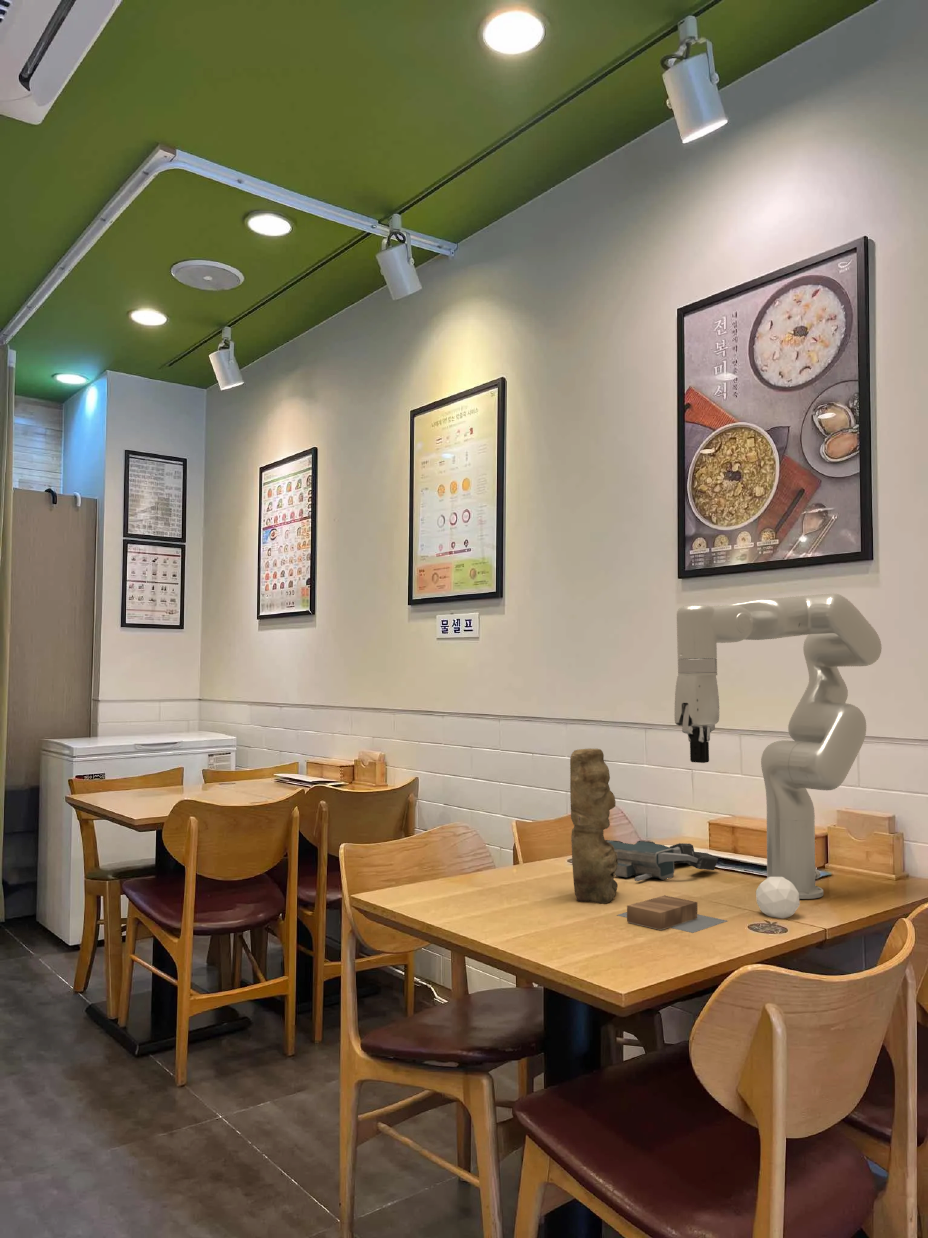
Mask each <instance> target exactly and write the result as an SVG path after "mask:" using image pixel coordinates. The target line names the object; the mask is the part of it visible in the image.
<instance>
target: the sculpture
mask: <svg viewBox="0 0 928 1238" xmlns="http://www.w3.org/2000/svg"><path fill="white" fill-rule="evenodd" d="M604 756H605V755H604V751H603V750H602V749H600V748H580V749H575V750H573V752H572V753H571V754H570V756H569V757H570V760H569V762H570V764H569V765H570V767H569V771H570V772H569V774H570V775H569V777H570V778H569V779H570V780H569V781H570V783H569V784H570V785H569V790H570V792H569V794H570V797H569V798H570V819H571V821H572V824H573V828H572V829H571V835H570V837H571V839H570V841H571V864H572V865H571V866H572V877H573V888H574V895H575V897H576V900H577V901H578V902H583V903H584V902H592V903H593V902H594V903H598V904H604V905H605V904H607V903H608V904H609V903H611V901H612V900H613V899H614V898H615V895H616V893H617V890H618V883H617V881H616V880H614V879H615V877H616V875H615V874H616V873H615V871H616V870H617V867H618V858H617V852H615V851H614V846H613V845H612V844H611V843H609V842H607V841H605V840H606V839H605V836H604V832H605V831H604V830H607V829H608V828H609V827H610V826H611V822H610V819H609V818H610V810H613V809H614V808H615V807H616V805H617V804H616V796H615V795H614V794H615V793H613V792H612V791H611V787H610V784H609V782H610V779H611V777H610V774H611V773H610V769H609V766H608V765H607V764H606V762H605V760H604Z"/></svg>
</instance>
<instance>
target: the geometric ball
mask: <svg viewBox="0 0 928 1238" xmlns="http://www.w3.org/2000/svg"><path fill="white" fill-rule="evenodd" d="M755 895H756V896H755V898H756V899H755V900H756V904H757V906H758V908H759V909H760V911H761V913H763V914H764V915H765V916H767V917H771V918H775V919H787V918H790V917H792V916H793V915H794V914H795V913H796V911H797V910H798V909H799V907H800V904H801V903H800V899H799V892H798V891H797V889H796V888H795V886H794V885H793V884H792V883H791V882H790V881H788V880H787V879H785V878H784V877H768V878H767V877H766V879H764V880H763V881H761V882H760V883H759V884H758V887H757V889H756V891H755Z"/></svg>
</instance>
